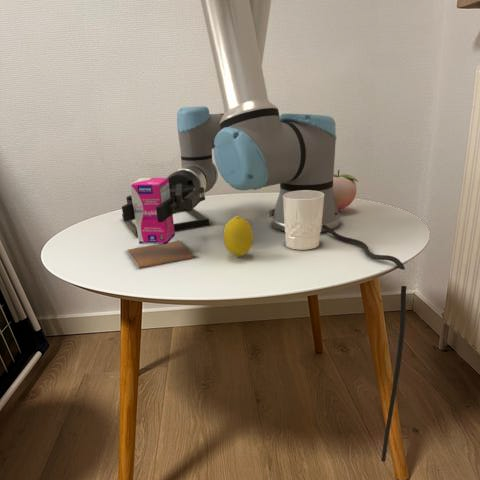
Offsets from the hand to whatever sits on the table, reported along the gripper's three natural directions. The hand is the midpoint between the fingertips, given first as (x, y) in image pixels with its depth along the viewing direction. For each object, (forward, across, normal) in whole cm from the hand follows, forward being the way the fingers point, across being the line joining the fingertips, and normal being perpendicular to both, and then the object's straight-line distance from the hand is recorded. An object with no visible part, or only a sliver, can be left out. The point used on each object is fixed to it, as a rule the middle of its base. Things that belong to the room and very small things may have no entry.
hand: (141, 214), depth 78 cm
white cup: (-13, -28, -9) cm, 32 cm away
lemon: (-5, -17, -10) cm, 20 cm away
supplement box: (-5, 0, -7) cm, 8 cm away
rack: (-28, +8, -10) cm, 30 cm away
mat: (-5, 0, -9) cm, 11 cm away
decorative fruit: (-39, -34, -10) cm, 52 cm away
